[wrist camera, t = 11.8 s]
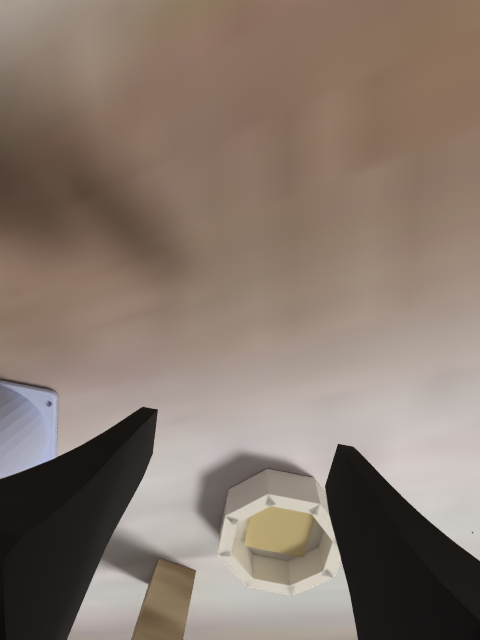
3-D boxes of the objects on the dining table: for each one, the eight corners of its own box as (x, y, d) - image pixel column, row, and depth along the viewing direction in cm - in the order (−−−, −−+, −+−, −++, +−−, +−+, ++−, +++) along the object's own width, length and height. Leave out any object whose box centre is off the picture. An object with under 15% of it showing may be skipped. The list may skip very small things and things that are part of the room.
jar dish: (319, 569, 27) (325, 602, 24) (216, 549, 27) (212, 579, 25) (347, 484, 24) (357, 511, 22) (233, 462, 25) (231, 486, 22)
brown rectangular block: (184, 596, 29) (156, 728, 21) (148, 584, 29) (107, 712, 21) (196, 570, 28) (172, 698, 20) (159, 558, 28) (120, 681, 20)
